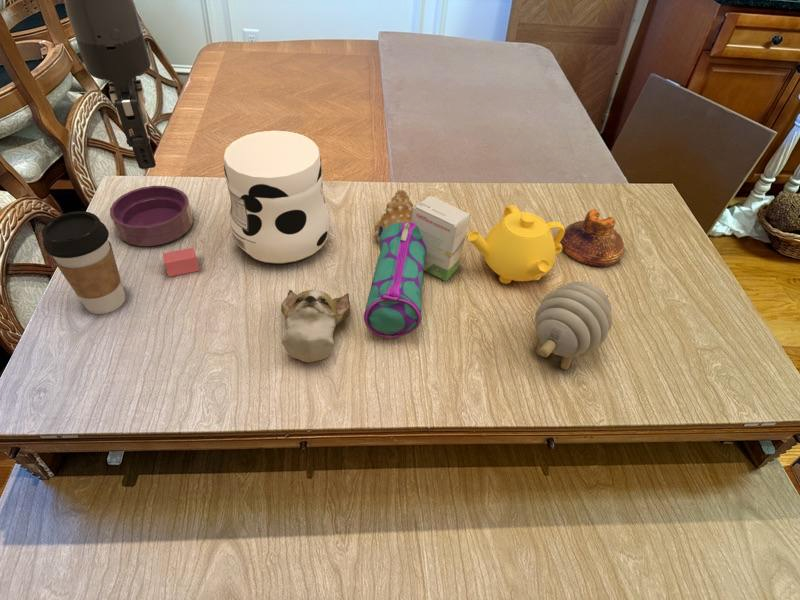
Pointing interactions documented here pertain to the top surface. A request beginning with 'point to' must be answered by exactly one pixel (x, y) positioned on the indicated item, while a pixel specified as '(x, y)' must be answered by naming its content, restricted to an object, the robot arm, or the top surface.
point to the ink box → (441, 235)
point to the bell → (593, 241)
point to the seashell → (396, 211)
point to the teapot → (519, 246)
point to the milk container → (276, 196)
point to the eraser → (180, 262)
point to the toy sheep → (572, 321)
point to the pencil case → (397, 282)
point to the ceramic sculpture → (312, 323)
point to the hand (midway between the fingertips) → (145, 152)
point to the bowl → (151, 215)
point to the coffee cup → (85, 259)
